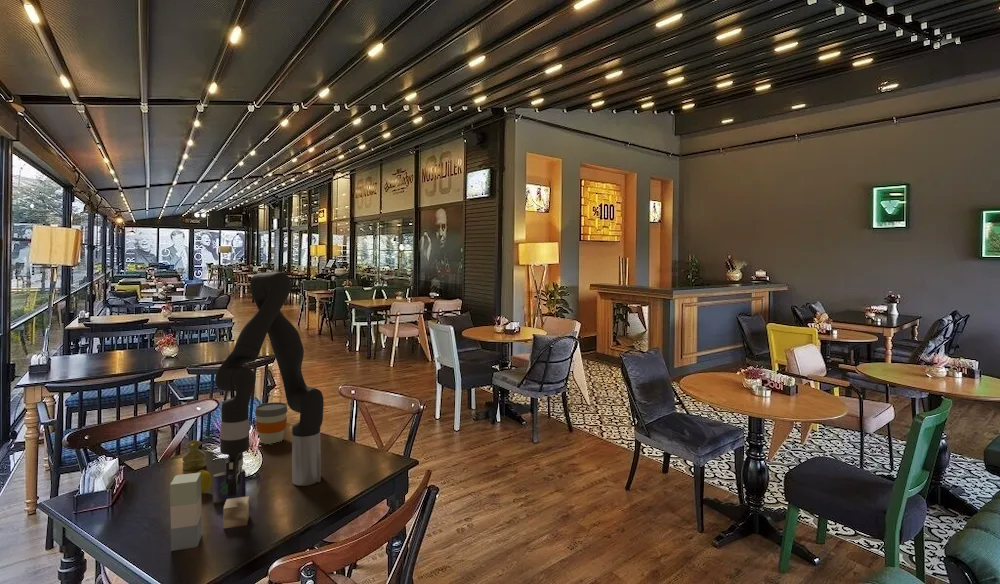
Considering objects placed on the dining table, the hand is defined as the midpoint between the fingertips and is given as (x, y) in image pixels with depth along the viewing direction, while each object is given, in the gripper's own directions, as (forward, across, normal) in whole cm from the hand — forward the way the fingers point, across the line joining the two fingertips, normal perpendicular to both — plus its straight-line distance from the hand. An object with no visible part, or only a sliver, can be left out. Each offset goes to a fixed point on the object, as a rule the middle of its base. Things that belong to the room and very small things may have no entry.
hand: (234, 489), depth 146 cm
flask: (+10, +16, +4) cm, 19 cm away
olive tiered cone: (+10, +48, +20) cm, 53 cm away
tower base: (+10, -8, +10) cm, 17 cm away
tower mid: (+4, -8, +10) cm, 14 cm away
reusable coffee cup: (+9, +69, -5) cm, 70 cm away
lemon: (+10, +23, +13) cm, 28 cm away
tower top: (-2, -8, +10) cm, 13 cm away
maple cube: (+10, 0, -1) cm, 10 cm away
